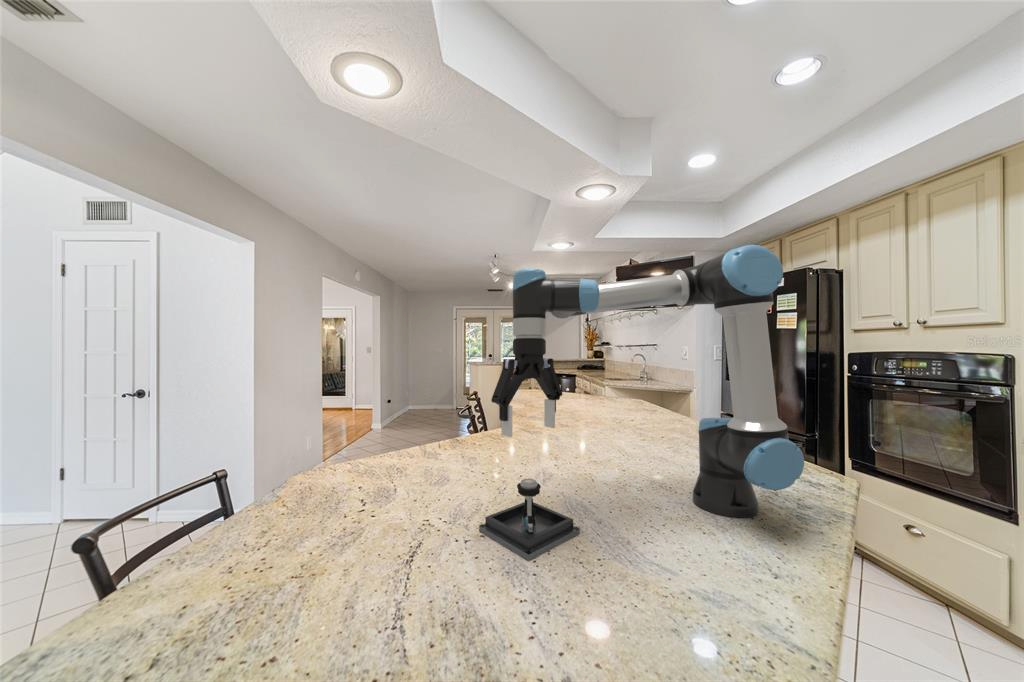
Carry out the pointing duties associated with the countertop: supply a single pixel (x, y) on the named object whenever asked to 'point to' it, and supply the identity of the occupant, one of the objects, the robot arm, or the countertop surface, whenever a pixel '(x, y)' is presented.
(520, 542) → the grey metal square tray
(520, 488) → the push button
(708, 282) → the robot arm
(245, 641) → the countertop surface
